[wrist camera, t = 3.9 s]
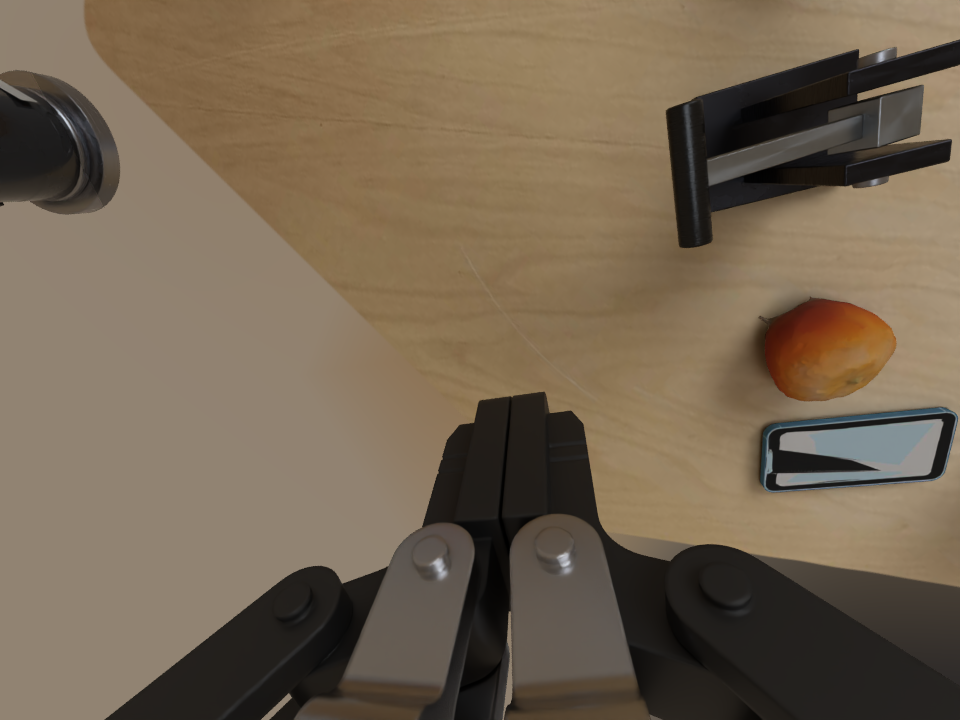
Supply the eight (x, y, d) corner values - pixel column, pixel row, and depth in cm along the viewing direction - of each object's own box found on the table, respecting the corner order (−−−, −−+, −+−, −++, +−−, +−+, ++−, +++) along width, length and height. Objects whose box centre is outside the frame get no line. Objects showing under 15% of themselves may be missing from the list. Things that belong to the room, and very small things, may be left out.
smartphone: (943, 480, 39) (762, 493, 42) (934, 474, 40) (757, 487, 43) (961, 409, 37) (767, 427, 39) (950, 403, 38) (761, 422, 40)
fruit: (829, 253, 33) (923, 324, 28) (834, 308, 38) (914, 376, 33) (726, 314, 36) (793, 389, 30) (744, 357, 41) (804, 428, 36)
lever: (665, 247, 22) (702, 249, 19) (651, 114, 20) (690, 99, 17) (864, 180, 24) (917, 175, 22) (870, 56, 22) (929, 36, 20)
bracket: (699, 213, 34) (781, 232, 23) (690, 100, 31) (778, 54, 20) (844, 177, 32) (1018, 178, 20) (847, 53, 29) (1052, -29, 18)
